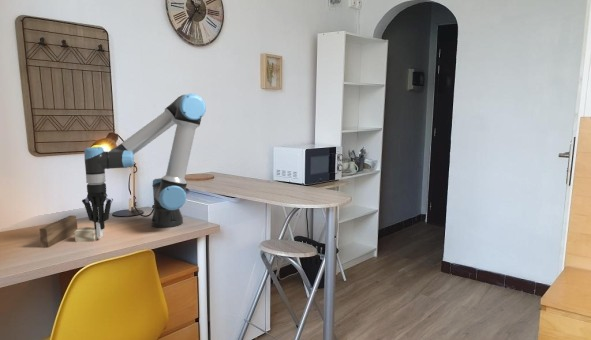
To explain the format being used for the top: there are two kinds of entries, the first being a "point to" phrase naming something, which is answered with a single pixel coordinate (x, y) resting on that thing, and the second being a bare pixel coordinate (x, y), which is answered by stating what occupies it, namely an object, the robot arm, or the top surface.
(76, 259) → the top surface
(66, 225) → the walnut board
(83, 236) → the beech block
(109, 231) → the top surface
